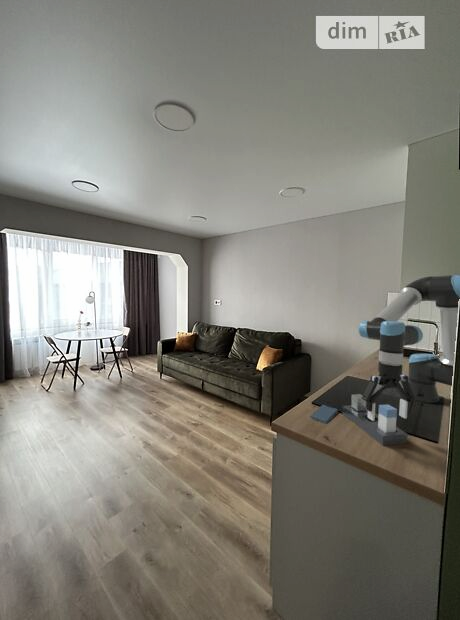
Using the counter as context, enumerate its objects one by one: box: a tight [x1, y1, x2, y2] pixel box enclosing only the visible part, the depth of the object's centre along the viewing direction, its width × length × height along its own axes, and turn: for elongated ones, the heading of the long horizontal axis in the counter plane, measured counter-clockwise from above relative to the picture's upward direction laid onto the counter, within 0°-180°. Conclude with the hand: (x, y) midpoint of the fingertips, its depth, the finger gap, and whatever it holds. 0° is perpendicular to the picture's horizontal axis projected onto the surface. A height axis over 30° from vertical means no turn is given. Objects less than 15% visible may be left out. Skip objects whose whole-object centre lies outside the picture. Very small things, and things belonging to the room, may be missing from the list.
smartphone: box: [309, 404, 339, 424], centre depth 111 cm, size 8×2×15 cm
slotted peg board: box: [341, 393, 408, 446], centre depth 102 cm, size 10×24×9 cm, turn 9°
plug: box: [378, 404, 398, 433], centre depth 94 cm, size 4×4×12 cm
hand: (387, 418), depth 93 cm, fingers open, 13 cm apart
